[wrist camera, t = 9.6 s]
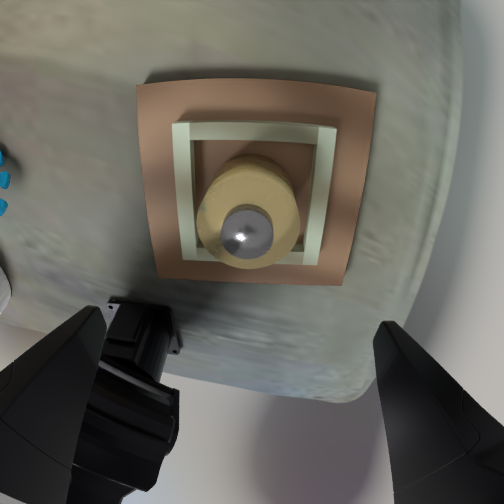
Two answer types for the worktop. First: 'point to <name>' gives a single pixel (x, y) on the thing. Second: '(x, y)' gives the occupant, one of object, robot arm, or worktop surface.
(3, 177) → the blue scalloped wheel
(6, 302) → the ramekin
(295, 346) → the worktop surface
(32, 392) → the robot arm
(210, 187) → the tan two-tone cylinder
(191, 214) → the carrier board
